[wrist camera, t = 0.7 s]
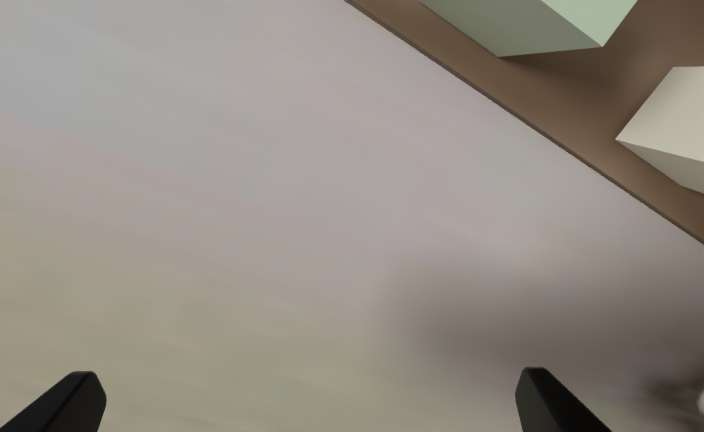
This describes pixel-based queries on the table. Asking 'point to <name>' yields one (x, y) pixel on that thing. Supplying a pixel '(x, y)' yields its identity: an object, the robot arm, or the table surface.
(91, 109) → the table surface
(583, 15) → the pale green block
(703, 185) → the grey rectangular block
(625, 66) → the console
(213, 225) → the table surface
